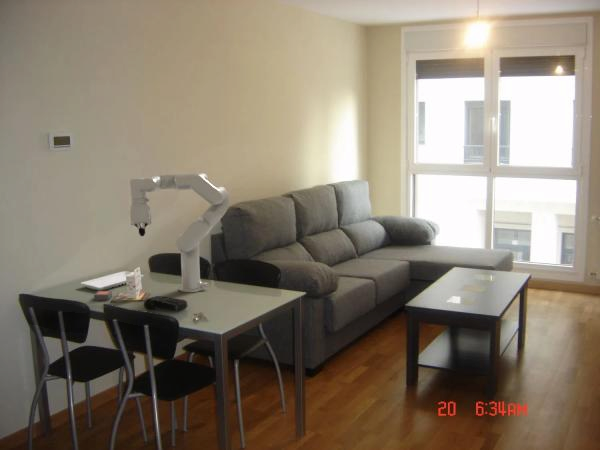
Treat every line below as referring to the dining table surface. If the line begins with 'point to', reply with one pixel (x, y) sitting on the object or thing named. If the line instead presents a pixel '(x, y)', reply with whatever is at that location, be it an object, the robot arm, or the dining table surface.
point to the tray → (107, 281)
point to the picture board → (123, 298)
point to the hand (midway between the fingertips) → (142, 235)
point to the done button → (103, 293)
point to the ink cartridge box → (134, 284)
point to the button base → (103, 296)
